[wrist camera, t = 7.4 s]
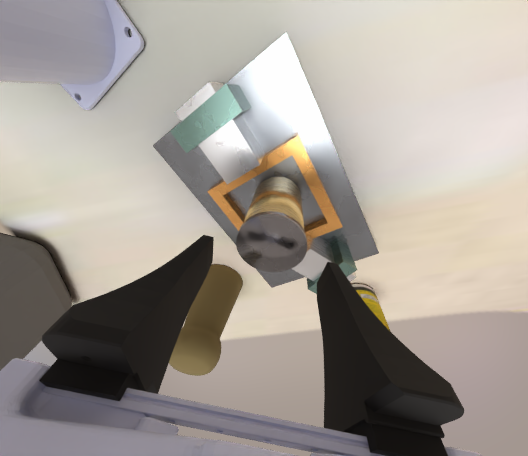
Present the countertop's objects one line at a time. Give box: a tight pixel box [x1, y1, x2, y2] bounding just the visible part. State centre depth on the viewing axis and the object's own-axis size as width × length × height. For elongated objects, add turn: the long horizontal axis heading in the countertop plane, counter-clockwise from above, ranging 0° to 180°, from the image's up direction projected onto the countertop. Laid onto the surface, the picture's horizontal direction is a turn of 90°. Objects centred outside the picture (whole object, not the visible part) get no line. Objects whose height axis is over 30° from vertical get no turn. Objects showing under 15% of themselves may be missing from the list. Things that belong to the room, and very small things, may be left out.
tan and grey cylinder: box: [236, 177, 307, 272], centre depth 16 cm, size 5×5×7 cm
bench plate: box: [153, 32, 379, 294], centre depth 18 cm, size 20×13×5 cm, turn 32°
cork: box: [169, 264, 243, 376], centre depth 23 cm, size 6×6×11 cm
